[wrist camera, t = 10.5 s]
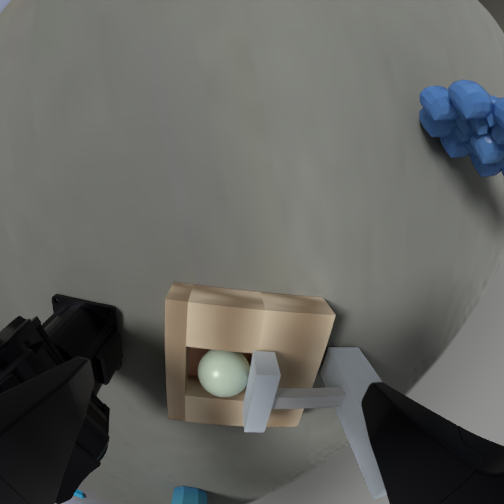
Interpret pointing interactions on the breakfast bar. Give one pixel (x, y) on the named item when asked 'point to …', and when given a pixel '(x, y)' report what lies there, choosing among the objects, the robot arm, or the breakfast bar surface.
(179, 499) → the cup
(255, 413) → the pull handle
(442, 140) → the grapes
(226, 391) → the ball
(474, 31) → the breakfast bar surface
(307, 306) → the board
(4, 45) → the breakfast bar surface
